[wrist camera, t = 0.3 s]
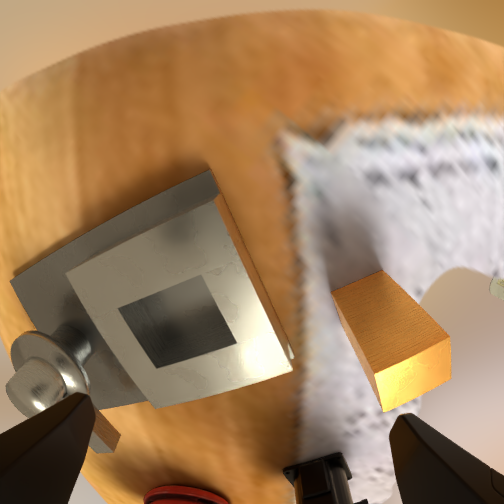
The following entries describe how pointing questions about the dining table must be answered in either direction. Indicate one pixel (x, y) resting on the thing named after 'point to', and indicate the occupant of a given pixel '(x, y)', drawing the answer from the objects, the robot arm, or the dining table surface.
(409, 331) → the rectangular wooden peg
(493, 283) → the mounting bracket
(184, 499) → the plant pot
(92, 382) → the grey metal frame fixture
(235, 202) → the dining table surface
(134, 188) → the dining table surface
